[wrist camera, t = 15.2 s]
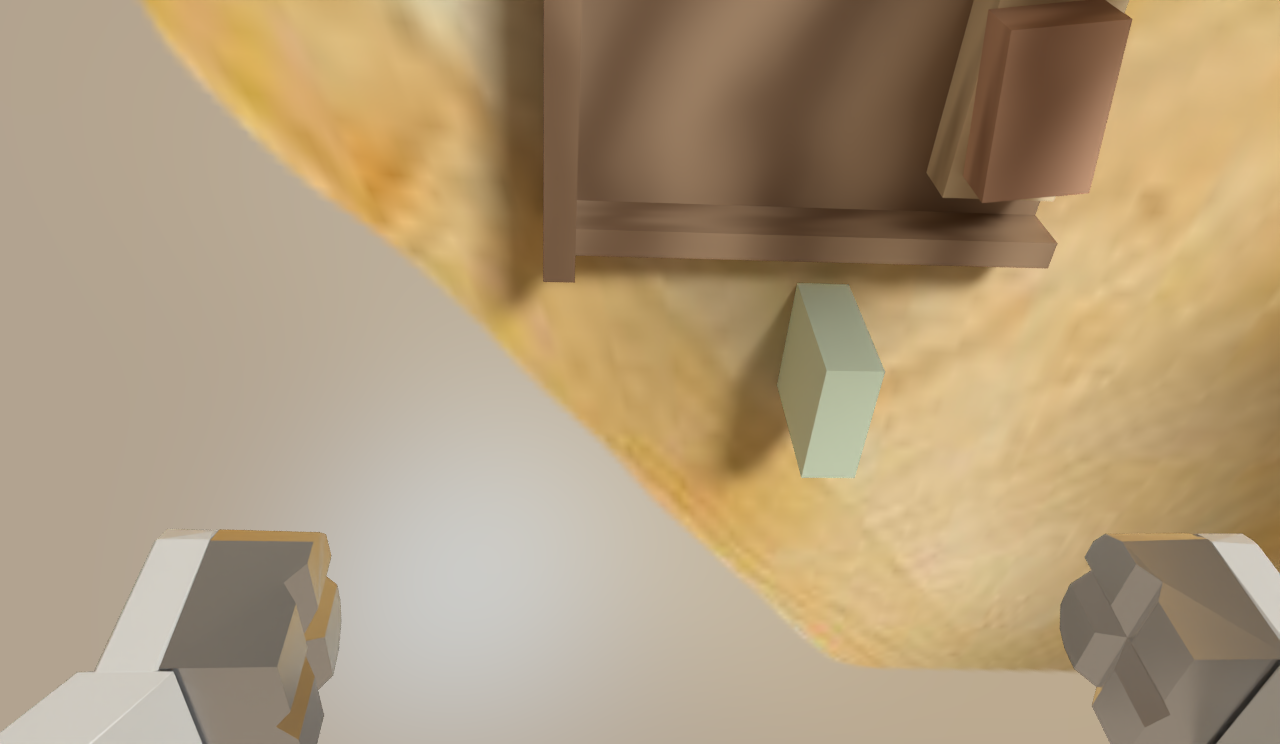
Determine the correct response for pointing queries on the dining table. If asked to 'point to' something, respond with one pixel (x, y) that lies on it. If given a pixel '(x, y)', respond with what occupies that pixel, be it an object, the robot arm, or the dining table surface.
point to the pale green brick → (828, 380)
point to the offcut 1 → (969, 102)
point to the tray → (760, 135)
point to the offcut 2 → (1043, 98)
